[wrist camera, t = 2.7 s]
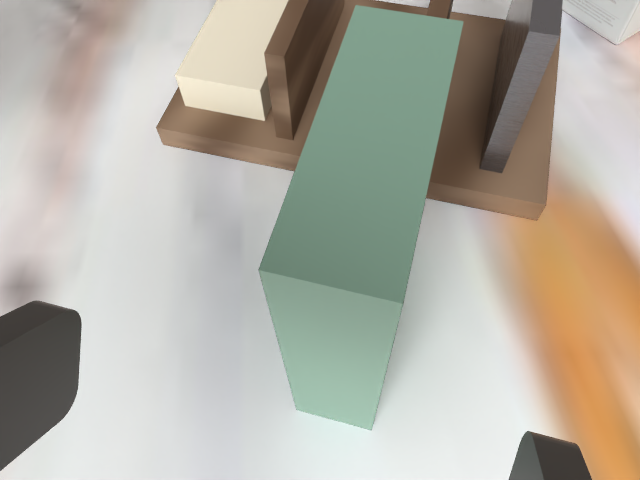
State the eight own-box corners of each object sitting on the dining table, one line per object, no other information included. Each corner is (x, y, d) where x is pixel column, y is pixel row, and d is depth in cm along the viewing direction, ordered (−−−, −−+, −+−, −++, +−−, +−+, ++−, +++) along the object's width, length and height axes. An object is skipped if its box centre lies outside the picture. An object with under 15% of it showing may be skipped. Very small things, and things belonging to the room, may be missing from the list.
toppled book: (185, 105, 33) (174, 75, 31) (240, -1, 38) (235, -33, 36) (265, 120, 32) (259, 90, 30) (311, 10, 37) (309, -22, 35)
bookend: (479, 169, 30) (529, 31, 22) (501, 35, 35) (547, -115, 28) (502, 173, 30) (559, 36, 22) (520, 37, 35) (572, -112, 27)
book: (296, 409, 25) (258, 270, 13) (348, 228, 30) (355, 5, 18) (371, 430, 25) (403, 303, 13) (412, 242, 30) (463, 21, 18)
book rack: (163, 144, 33) (121, 43, 27) (240, -2, 40) (221, -111, 34) (537, 220, 30) (591, 126, 24) (553, 47, 37) (599, -64, 30)
